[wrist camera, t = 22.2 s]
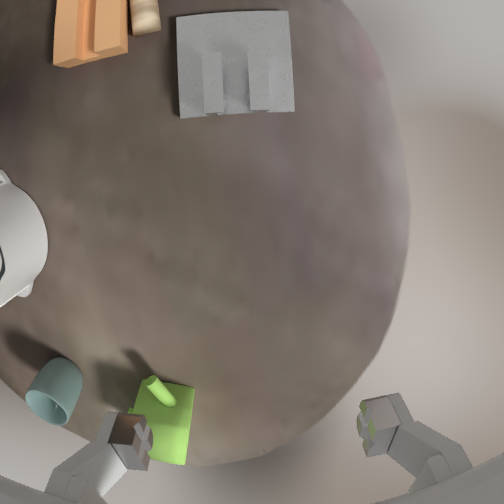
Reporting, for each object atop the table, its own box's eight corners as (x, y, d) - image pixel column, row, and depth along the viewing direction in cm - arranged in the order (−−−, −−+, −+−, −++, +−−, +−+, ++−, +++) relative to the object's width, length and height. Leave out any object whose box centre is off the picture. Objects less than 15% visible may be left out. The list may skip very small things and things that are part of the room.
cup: (95, 370, 45) (75, 413, 36) (79, 391, 47) (60, 431, 38) (57, 342, 43) (30, 382, 34) (44, 365, 45) (20, 403, 36)
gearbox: (133, 350, 44) (116, 395, 35) (198, 363, 45) (192, 410, 36) (135, 422, 50) (125, 462, 41) (188, 432, 51) (183, 474, 43)
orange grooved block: (69, 69, 30) (53, 64, 26) (72, 2, 26) (58, -7, 22) (131, 53, 30) (119, 45, 26) (132, -16, 26) (122, -28, 23)
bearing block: (183, 119, 33) (172, 116, 28) (179, 22, 29) (169, 4, 23) (291, 112, 34) (302, 109, 28) (285, 16, 29) (294, -3, 23)
